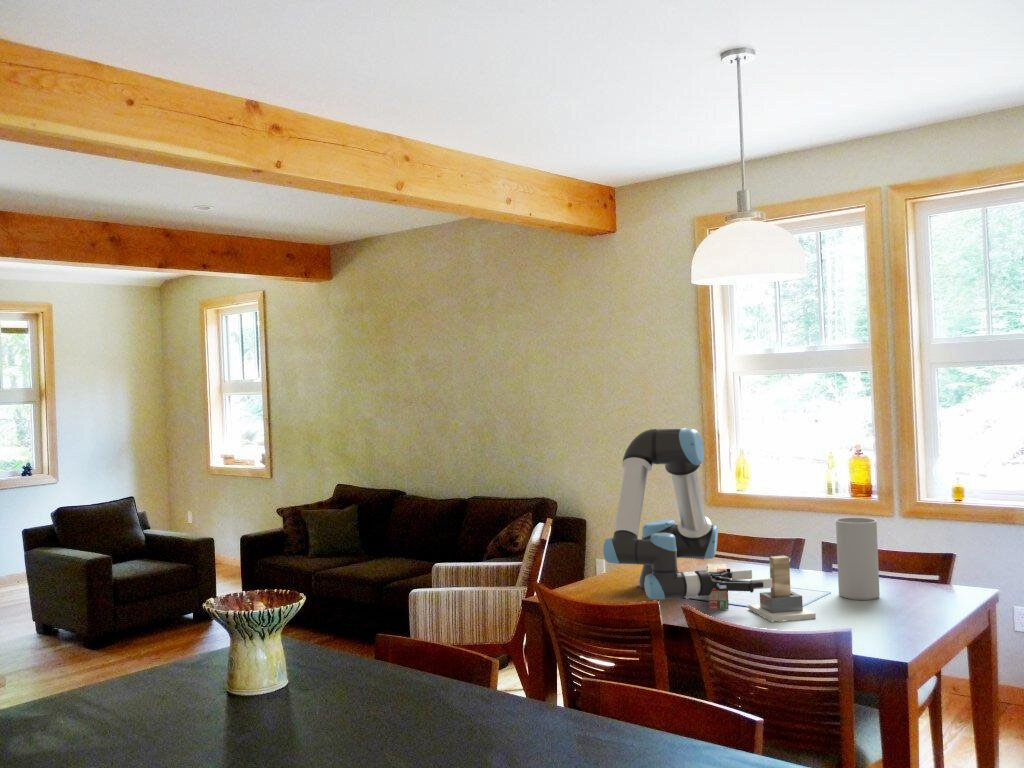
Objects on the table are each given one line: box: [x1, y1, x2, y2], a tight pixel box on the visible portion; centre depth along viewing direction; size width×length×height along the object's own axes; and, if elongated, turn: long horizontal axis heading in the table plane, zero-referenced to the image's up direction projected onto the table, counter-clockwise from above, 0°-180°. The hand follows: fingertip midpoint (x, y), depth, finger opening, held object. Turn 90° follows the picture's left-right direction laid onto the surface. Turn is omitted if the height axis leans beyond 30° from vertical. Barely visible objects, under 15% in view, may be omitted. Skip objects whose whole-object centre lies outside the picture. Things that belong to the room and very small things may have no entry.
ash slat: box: [768, 555, 791, 597], centre depth 272 cm, size 3×5×16 cm, turn 100°
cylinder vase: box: [835, 516, 881, 601], centre depth 291 cm, size 12×12×25 cm
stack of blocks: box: [706, 563, 730, 610], centre depth 291 cm, size 21×6×12 cm, turn 168°
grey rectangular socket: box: [759, 590, 804, 613], centre depth 272 cm, size 8×10×4 cm
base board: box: [748, 603, 817, 622], centre depth 272 cm, size 16×14×2 cm
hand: (761, 578), depth 271 cm, fingers open, 13 cm apart
